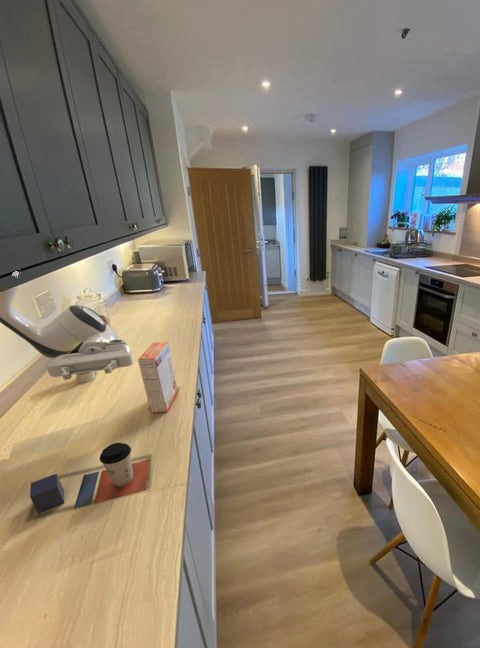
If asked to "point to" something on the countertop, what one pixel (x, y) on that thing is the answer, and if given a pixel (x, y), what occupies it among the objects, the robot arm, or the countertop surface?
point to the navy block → (47, 493)
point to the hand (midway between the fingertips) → (87, 374)
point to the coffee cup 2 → (118, 463)
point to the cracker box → (158, 376)
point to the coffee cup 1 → (83, 376)
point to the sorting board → (112, 485)
